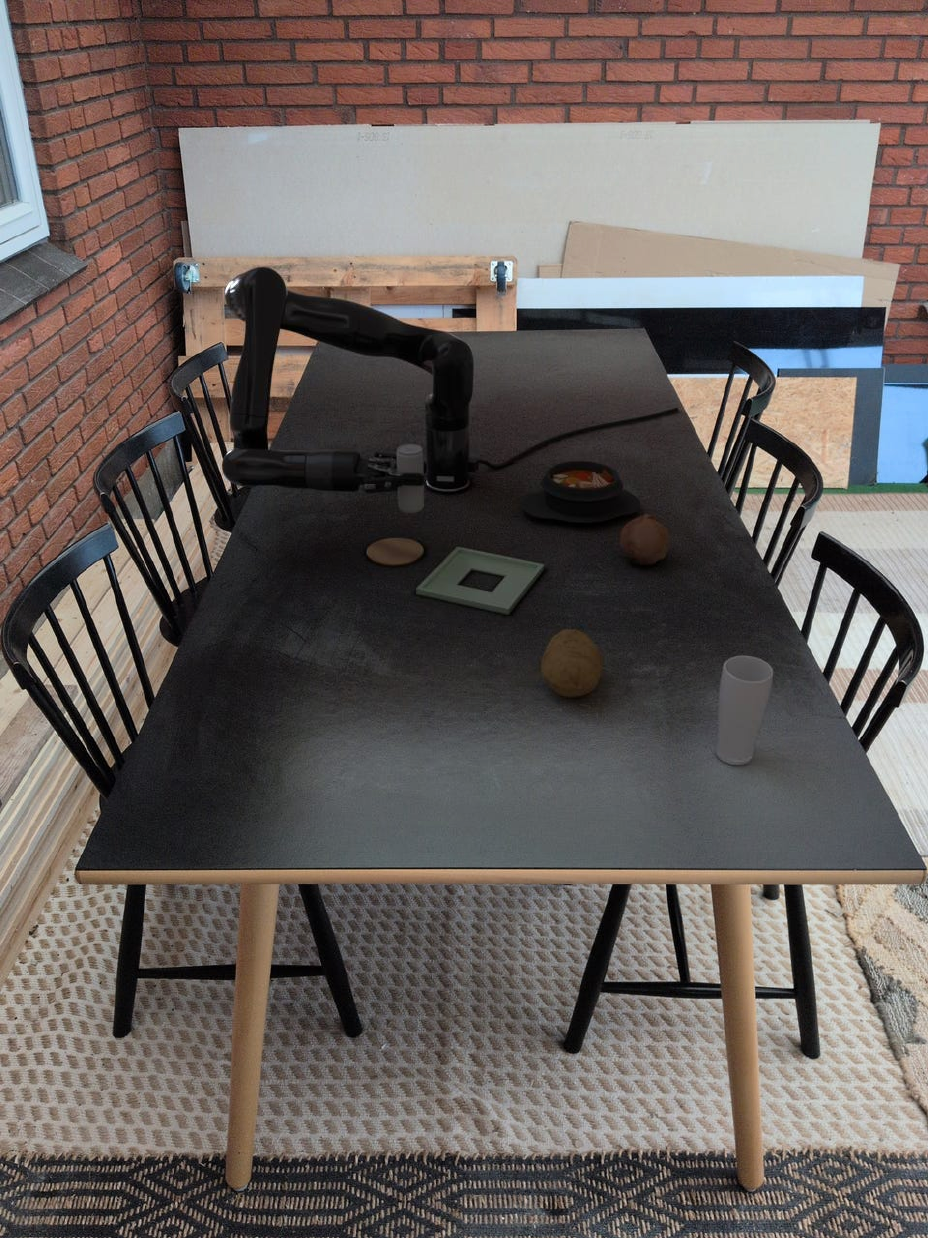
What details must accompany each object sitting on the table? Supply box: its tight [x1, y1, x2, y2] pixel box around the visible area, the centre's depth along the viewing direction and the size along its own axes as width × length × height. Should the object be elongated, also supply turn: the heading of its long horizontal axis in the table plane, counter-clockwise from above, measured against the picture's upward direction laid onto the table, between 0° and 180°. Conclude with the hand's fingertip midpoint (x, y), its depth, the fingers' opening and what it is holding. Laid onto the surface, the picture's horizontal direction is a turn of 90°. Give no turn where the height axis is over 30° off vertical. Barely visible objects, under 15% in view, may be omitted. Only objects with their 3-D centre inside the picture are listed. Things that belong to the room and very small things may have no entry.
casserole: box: [520, 460, 641, 524], centre depth 215 cm, size 25×19×8 cm
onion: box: [619, 513, 671, 567], centre depth 196 cm, size 10×9×10 cm
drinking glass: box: [714, 655, 774, 766], centre depth 144 cm, size 7×7×15 cm
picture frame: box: [415, 546, 545, 616], centre depth 191 cm, size 18×18×1 cm
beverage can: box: [396, 443, 425, 514], centre depth 191 cm, size 5×5×12 cm
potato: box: [540, 628, 604, 698], centre depth 161 cm, size 10×14×8 cm
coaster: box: [366, 537, 424, 566], centre depth 201 cm, size 11×11×1 cm
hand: (424, 473), depth 190 cm, fingers closed on beverage can, 5 cm apart
